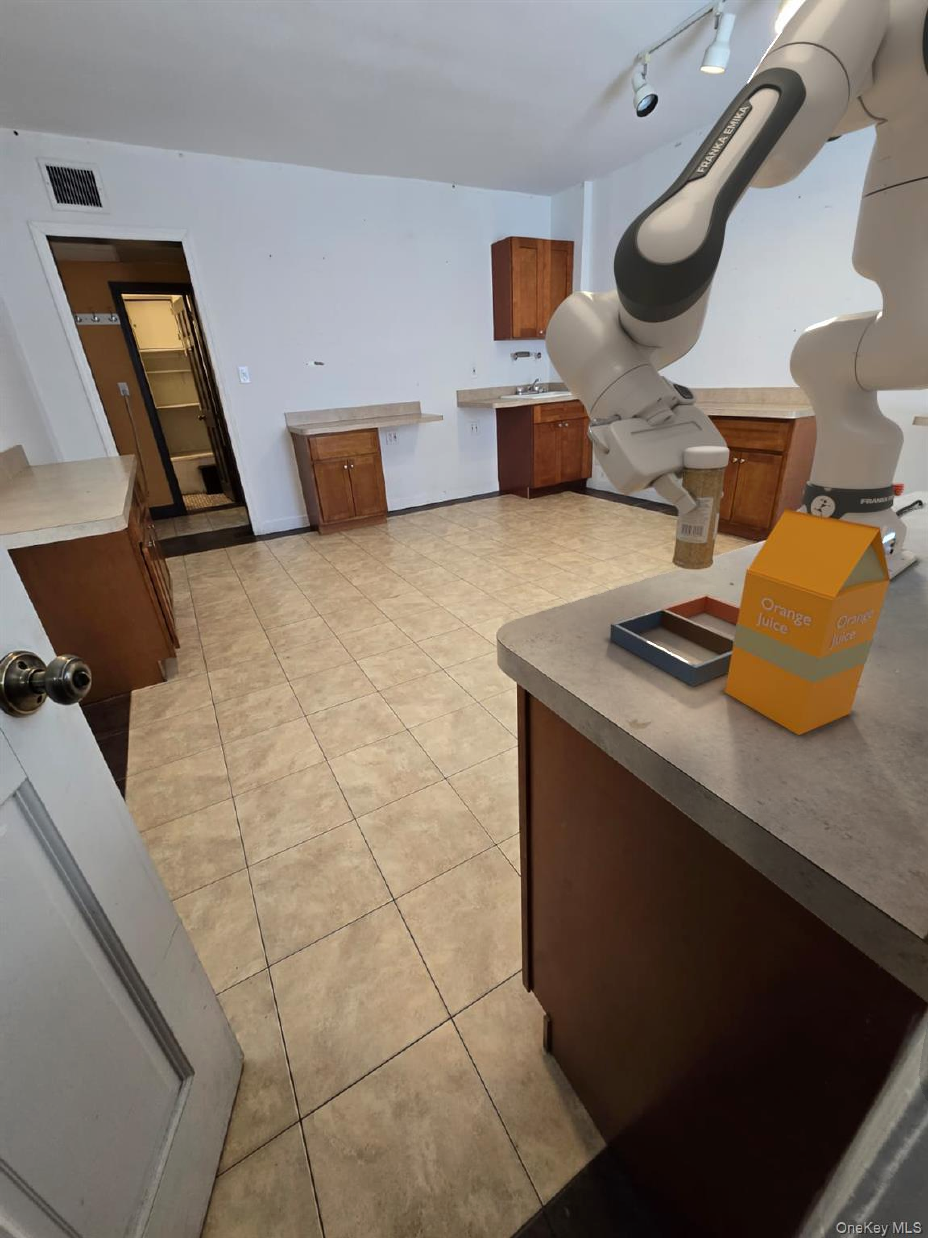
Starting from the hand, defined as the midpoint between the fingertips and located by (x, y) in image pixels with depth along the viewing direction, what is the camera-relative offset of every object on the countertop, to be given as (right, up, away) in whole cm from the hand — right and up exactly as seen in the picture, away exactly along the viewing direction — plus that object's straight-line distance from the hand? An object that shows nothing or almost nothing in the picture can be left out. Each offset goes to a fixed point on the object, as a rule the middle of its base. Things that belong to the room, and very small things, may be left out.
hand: (704, 505), depth 58 cm
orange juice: (+7, -22, -3) cm, 23 cm away
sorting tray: (+4, -16, +9) cm, 19 cm away
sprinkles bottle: (0, -7, +3) cm, 7 cm away
